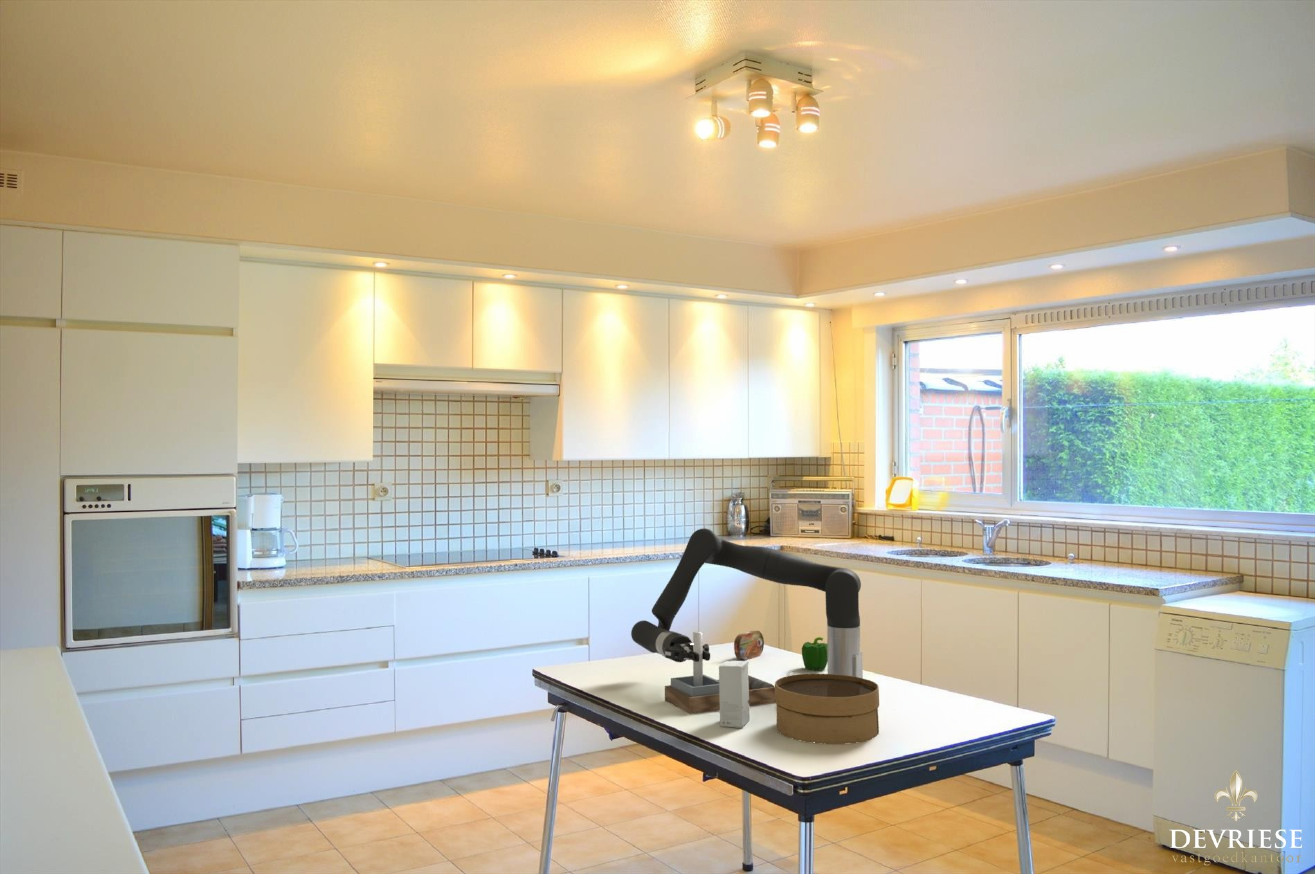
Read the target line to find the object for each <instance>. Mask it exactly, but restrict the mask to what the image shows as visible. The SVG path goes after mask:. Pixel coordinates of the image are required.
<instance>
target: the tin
mask: <svg viewBox="0 0 1315 874" xmlns="http://www.w3.org/2000/svg"><path fill="white" fill-rule="evenodd" d="M764 644H765V641H764V635H763V634H762V632H761V631H760V630H750V631H747V632H743V633H740V634H738V635H736V637H735V639H734V641H733V651H734V655H735V657H736V658H737V659H738V660H739V661H749V660H751V659H754V658H758V657H760V656H761V655H762V653H763V652H764V647H765V645H764ZM748 659H749V660H748Z"/></svg>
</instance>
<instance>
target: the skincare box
mask: <svg viewBox="0 0 1315 874" xmlns="http://www.w3.org/2000/svg"><path fill="white" fill-rule="evenodd" d="M748 675H749V660H726V661H725V662H722V663H721V664H720V665H719V666H718V680H719V699H720V710H719V726H720V727H726V728H727V727H728V728H737V729H743V728H744V727H745V725H746V724H747V723H748V722H749V721H750V706H749V681H748Z"/></svg>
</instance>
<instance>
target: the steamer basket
mask: <svg viewBox="0 0 1315 874" xmlns="http://www.w3.org/2000/svg"><path fill="white" fill-rule="evenodd" d="M774 687H775V702H776V703H775V704H776V707H775V708H776V730H777V732H778V733H779V734H780V733H781V734H780V735H782V736H784V737H786V738H789V739H791V738H793V739H792V740H795V741H799V740H801V741H800V742H803V741H805V742H804V743H809V742H815V743H814V744H818V743H823V744H822V745H846V744H845V743H852V744H857V743H856V742H859V743H863V742H868V741H870V740H873V739H874V738H875V737H877V736H878V735H879V732H880V727H879V726H880V725H879V706H880V689H879V688H880V687H879V685H878V684H877V683H876V682H874V681H872V680H870V679H866V678H864V677H863V678H859V677H853V676H847V675H837V674H828V673H803V674H802V673H800V674H792V675H786V676H783V677H780V678H778V679H777V680H775V682H774ZM872 738H873V739H872ZM867 740H868V741H867ZM824 743H826V744H824Z"/></svg>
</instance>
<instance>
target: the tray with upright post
mask: <svg viewBox="0 0 1315 874" xmlns="http://www.w3.org/2000/svg"><path fill="white" fill-rule="evenodd" d="M703 635H704V634H703V631H693V632H692V643H693V651H694V652H697V653H699V662H695V661H693V660H692V661H693V663H692V670H693V672H692V675H688V676H680V677H679V676H678V677H671V678H670V685H671V688H674V689H676V690H678V691H680V692H682V693H684V694H686V695H689V696H691V697H696V696H704V695H712V694H719V681H718V680H719V679H715V678H713V677H711V676H708V675H706V674H703V673H704V668H703V667H704V664H703V663H704V662H703V661H704V660H703V645H704V644H703Z"/></svg>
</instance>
